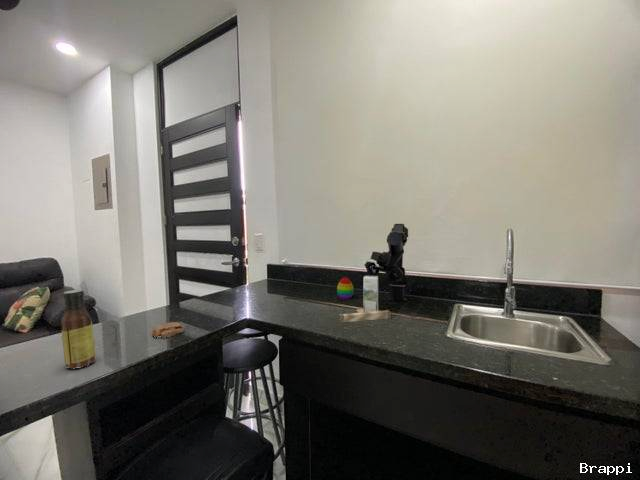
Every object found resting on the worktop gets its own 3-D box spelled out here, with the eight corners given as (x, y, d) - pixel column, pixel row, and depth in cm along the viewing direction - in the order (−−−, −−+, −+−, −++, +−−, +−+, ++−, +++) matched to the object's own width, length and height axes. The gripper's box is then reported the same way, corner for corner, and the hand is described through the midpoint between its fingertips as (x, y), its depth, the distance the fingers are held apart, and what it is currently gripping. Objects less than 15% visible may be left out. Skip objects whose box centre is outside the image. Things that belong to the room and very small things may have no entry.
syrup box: (378, 310, 119) (378, 275, 118) (377, 314, 114) (377, 278, 113) (364, 309, 121) (364, 275, 120) (363, 313, 115) (363, 277, 114)
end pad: (364, 317, 112) (364, 316, 112) (356, 310, 120) (356, 309, 120) (385, 315, 114) (385, 314, 114) (376, 309, 123) (376, 307, 123)
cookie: (185, 326, 105) (184, 318, 105) (184, 336, 95) (183, 328, 95) (153, 330, 101) (153, 322, 101) (149, 341, 91) (149, 332, 91)
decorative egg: (334, 296, 144) (333, 277, 143) (347, 294, 147) (347, 275, 147) (342, 300, 136) (342, 279, 136) (356, 298, 140) (356, 278, 140)
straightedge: (341, 322, 106) (341, 315, 106) (339, 320, 108) (339, 314, 108) (390, 318, 111) (390, 311, 111) (387, 316, 113) (387, 309, 113)
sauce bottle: (101, 358, 79) (97, 287, 78) (83, 370, 73) (78, 293, 72) (77, 359, 79) (72, 288, 78) (57, 371, 73) (51, 294, 72)
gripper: (367, 243, 127) (347, 270, 122) (398, 246, 110) (376, 277, 106) (381, 259, 131) (362, 286, 126) (412, 264, 115) (392, 295, 110)
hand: (372, 286), depth 117 cm, fingers open, 9 cm apart
